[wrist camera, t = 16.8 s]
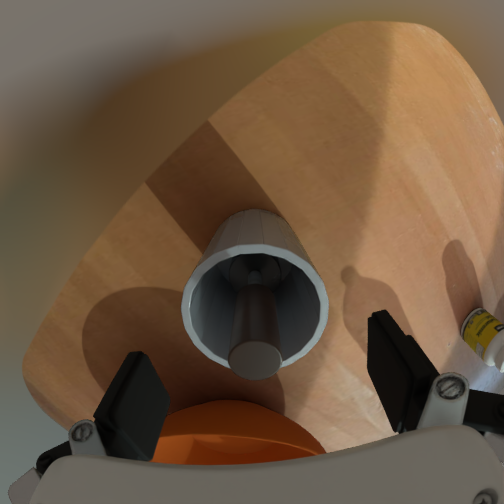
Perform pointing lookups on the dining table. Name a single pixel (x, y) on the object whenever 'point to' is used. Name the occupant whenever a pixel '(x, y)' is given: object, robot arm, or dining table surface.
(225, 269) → the grey utensil holder
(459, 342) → the dining table surface
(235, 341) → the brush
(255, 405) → the bowl
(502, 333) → the supplement bottle
